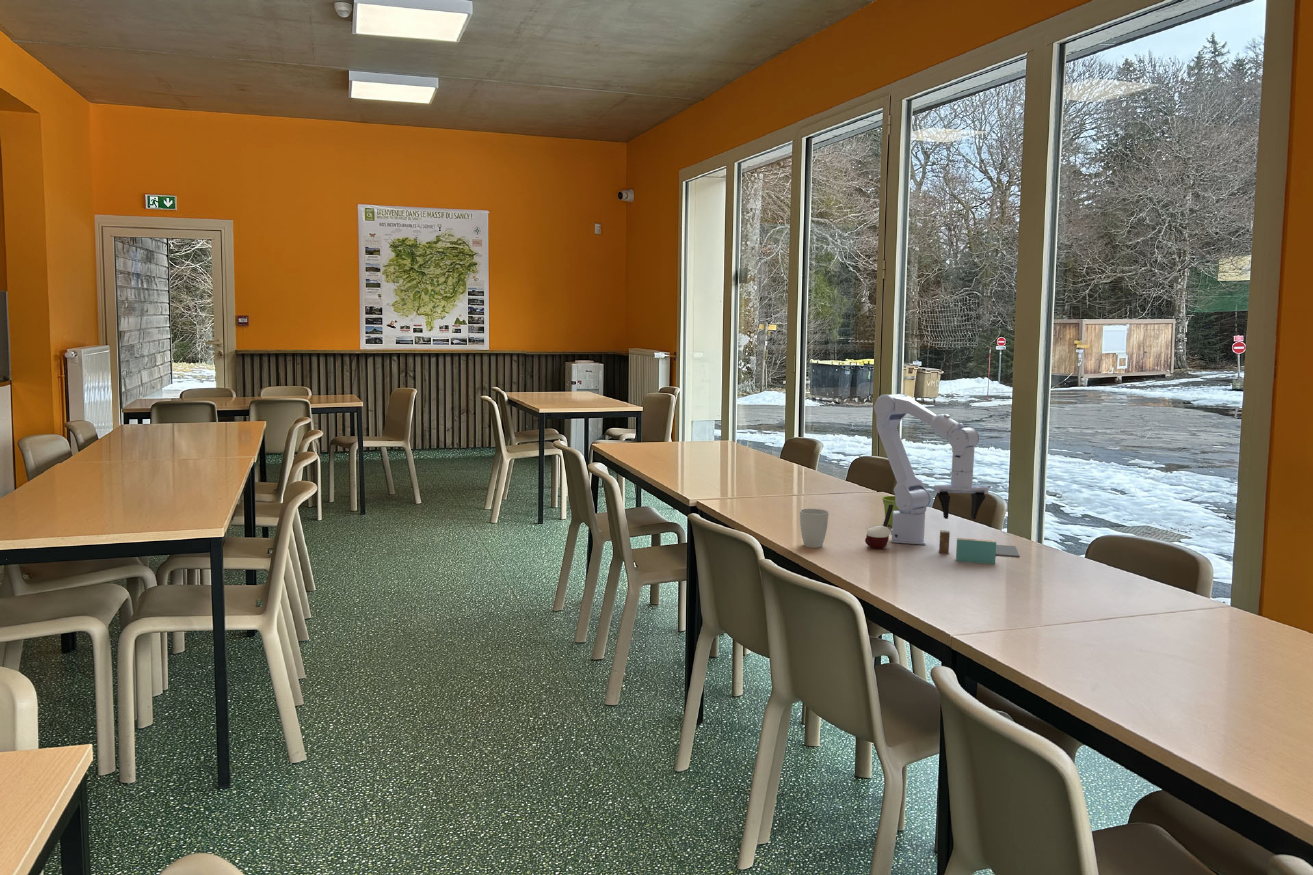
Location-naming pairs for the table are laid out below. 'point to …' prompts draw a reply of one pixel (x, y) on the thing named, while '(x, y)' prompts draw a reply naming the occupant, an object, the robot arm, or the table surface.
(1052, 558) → the table surface
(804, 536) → the cup
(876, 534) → the cocoa
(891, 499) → the plant pot
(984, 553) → the tile
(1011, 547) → the mat
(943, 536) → the stick
